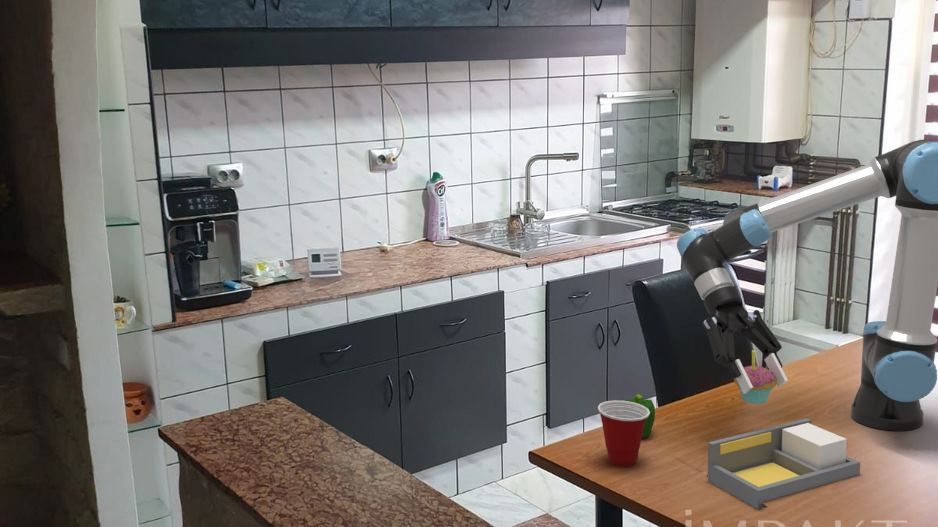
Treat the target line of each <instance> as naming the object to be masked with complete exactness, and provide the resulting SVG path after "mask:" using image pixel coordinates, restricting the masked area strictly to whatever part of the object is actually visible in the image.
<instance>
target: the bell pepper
mask: <svg viewBox="0 0 938 527" xmlns="http://www.w3.org/2000/svg"><path fill="white" fill-rule="evenodd" d="M620 401H628V402H634V403H637V404H640V405H643V406H644V407H646V408H648V409H649V411H650V414H649V416H648V418H647V419H646V421H645V425H644V428H643V434H642V439H645V438H648V436H649V435H650V433H651V432H652V430H653V427H654V423H655V418H656V415H655V414H656V406H655V404H654V403H653V402H654V401H653V400H652V399H644V398H643V396H642V395H641V394H636V395H635V397H631V399H629V398H628V399H627V398H621V400H620Z"/></svg>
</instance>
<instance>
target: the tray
mask: <svg viewBox="0 0 938 527" xmlns="http://www.w3.org/2000/svg"><path fill="white" fill-rule="evenodd" d="M806 423H810V424H812V419H809V418H808V417H806V418H803V419H798V420H795V421H791V422H787V423H786V422H785V423H782V424H778V425H777V424H776V425H774V426H770V427H765V428H762V429H759V430H758V429H757V430H752V431H750V432H746V433H745V432H744V433H741V434H737V435H733V436H729V437H724V438H720V439H717V440H713V441H708V443H707V444H708V448H707V482H708V483H710V484H713V485H714V486H716V487H718V488H720V489H721V490H722V491H725V492H726V493H728V494H730V495H731V496H733V497H735V498H737V499H738V500H740V501H742V502H744V503H746V504H747V505H749V506H751V507H752V508H754V509H756V510H760V509H764V508H768V506H767V505H766V504H763V503H765V502H769V501H773V500H777V499H779V498H782V497H787V496H790V495H794V494H797V493H800V492H803V491H807V490H811V489H814V488H817V487H820V486H824V485H827V484H831V483H834V482H839V481H841V480H845V479H849V478H852V477H857V476H859V475H860V474H861V461H858V460H856V459H853V458H851V457H849V456H847V455H846V463H843V464H840V465H836V466H833V467H829V468H825V469H822V470H820V469H818V468H815V467H813V466H811V465H809V464H807V463H805V462H803V461H801V460H799V459H796V458H794V457H792V456H790V455H788V454H786V453H784V452H782V429H785V428H789V427H793V426H797V425H801V424H806Z"/></svg>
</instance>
